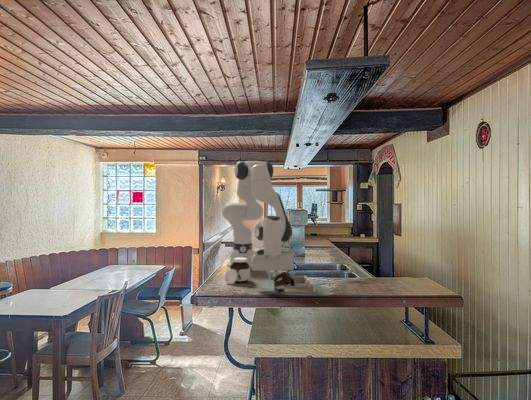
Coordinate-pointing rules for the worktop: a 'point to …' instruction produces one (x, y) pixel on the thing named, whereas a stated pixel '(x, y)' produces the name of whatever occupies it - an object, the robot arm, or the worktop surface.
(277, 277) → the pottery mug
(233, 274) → the spread jar
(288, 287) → the wooden u-shaped frame
